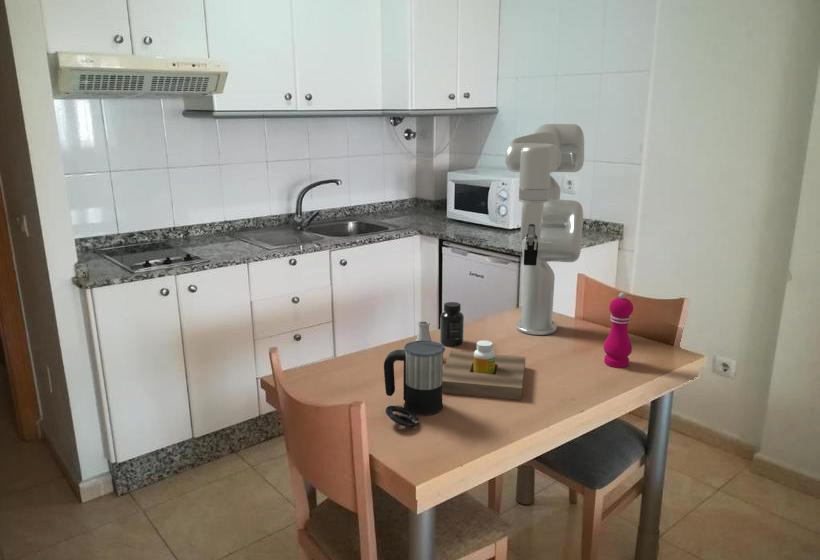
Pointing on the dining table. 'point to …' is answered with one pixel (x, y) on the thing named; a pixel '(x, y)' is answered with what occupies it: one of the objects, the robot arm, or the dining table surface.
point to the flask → (423, 331)
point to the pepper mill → (619, 333)
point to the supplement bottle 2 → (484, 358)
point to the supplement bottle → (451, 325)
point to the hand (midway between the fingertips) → (530, 260)
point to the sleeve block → (484, 376)
